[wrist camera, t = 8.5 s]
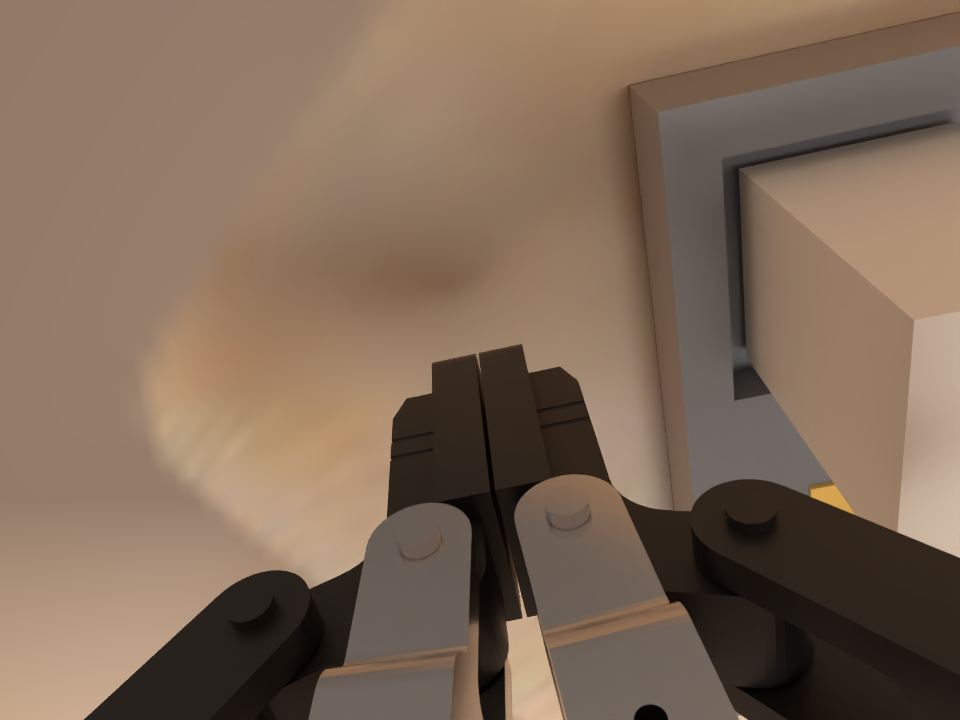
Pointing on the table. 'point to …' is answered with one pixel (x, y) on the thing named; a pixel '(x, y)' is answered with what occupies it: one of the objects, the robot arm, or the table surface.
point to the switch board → (717, 224)
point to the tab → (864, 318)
